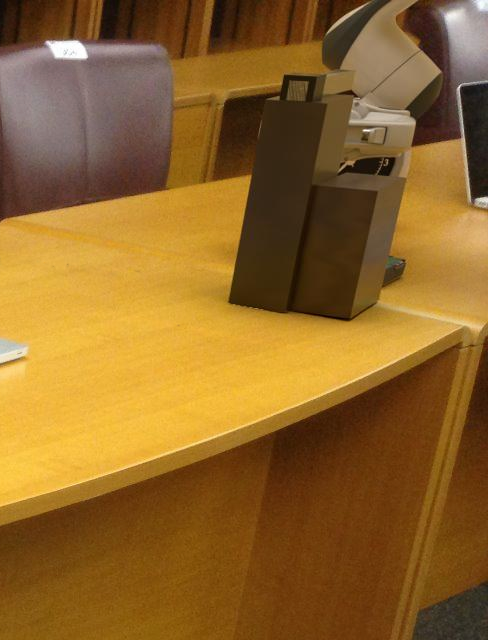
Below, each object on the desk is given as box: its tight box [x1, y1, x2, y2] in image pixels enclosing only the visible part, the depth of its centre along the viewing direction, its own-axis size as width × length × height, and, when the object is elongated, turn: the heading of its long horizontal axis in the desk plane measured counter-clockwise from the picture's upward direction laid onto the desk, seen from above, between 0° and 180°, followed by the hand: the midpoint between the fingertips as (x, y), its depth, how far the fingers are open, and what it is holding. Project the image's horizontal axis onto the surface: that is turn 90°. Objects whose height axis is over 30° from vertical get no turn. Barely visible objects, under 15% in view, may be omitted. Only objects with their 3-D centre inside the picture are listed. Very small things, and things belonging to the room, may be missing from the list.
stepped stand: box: [227, 93, 407, 320], centre depth 200 cm, size 15×16×26 cm
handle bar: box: [279, 69, 355, 102], centre depth 197 cm, size 4×20×3 cm, turn 141°
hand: (330, 134), depth 213 cm, fingers open, 8 cm apart
